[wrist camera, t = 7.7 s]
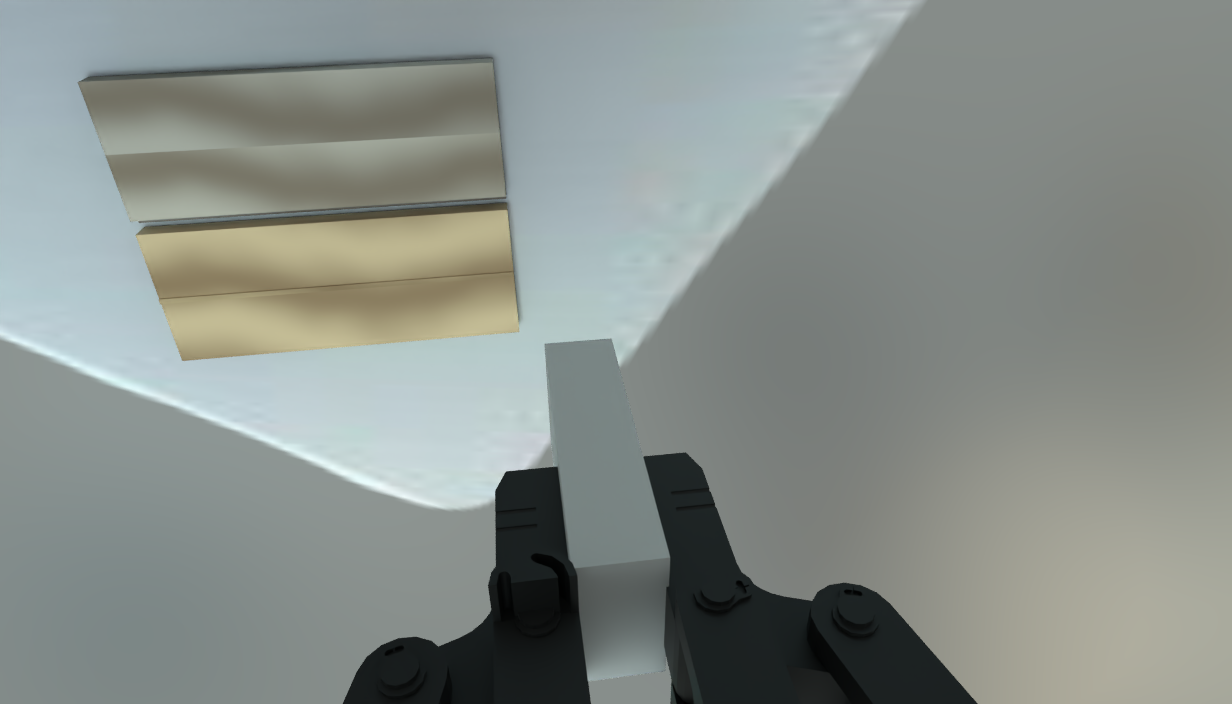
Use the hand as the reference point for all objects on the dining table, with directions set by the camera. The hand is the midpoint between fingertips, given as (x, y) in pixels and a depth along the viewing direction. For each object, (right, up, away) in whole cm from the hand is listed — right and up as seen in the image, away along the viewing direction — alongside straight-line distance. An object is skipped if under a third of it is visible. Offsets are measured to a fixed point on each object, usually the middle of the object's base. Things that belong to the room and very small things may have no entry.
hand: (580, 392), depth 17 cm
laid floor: (-16, +12, +23) cm, 31 cm away
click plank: (-15, +5, +28) cm, 32 cm away
